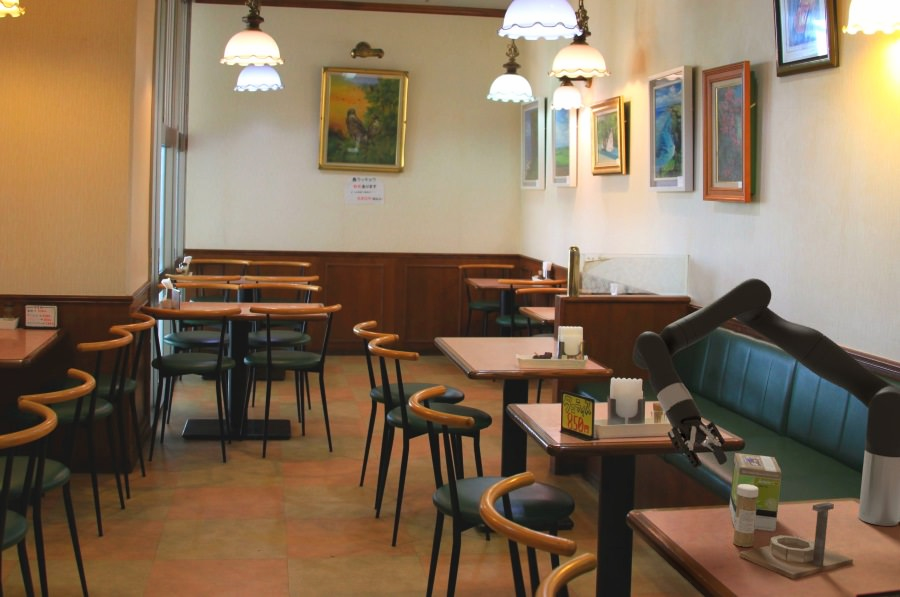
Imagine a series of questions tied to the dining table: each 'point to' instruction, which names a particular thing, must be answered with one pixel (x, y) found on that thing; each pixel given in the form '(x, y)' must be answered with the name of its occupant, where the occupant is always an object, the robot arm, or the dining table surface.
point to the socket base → (792, 565)
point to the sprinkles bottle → (745, 515)
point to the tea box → (767, 480)
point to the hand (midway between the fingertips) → (711, 465)
